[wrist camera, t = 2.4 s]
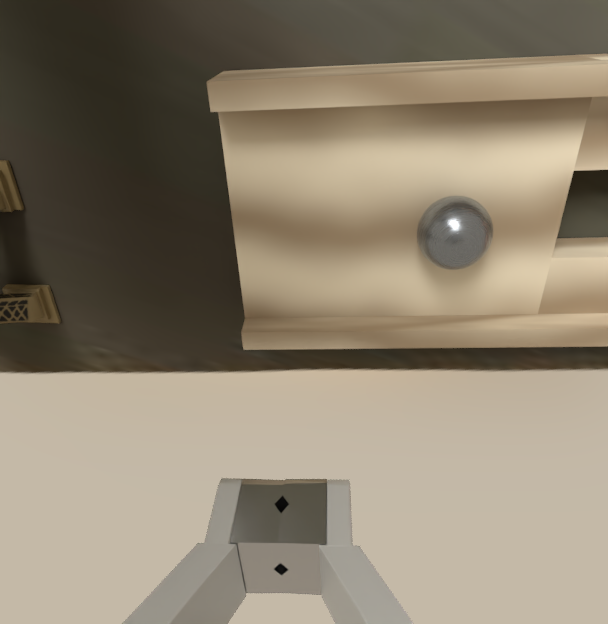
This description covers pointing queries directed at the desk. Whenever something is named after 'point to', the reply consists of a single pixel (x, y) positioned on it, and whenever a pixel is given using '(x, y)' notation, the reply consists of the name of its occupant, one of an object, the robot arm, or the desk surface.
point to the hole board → (413, 201)
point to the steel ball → (455, 232)
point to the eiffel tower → (22, 298)
